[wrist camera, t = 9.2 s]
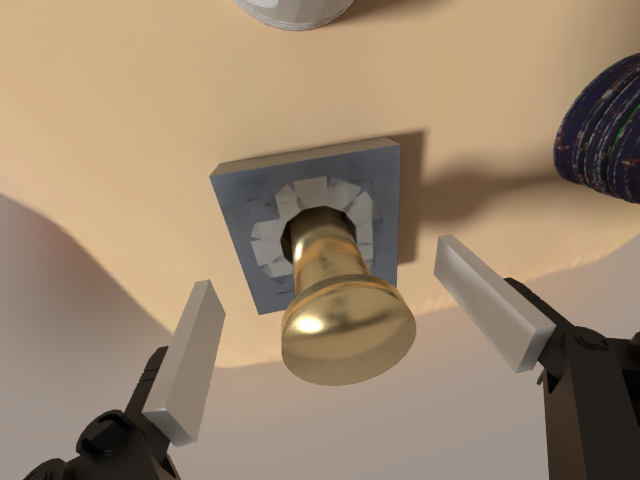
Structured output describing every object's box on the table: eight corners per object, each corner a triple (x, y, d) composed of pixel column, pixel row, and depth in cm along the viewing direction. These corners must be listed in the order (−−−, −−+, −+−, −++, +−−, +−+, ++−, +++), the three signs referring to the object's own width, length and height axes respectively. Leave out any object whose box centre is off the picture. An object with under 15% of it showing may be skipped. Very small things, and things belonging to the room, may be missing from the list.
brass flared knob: (287, 258, 23) (295, 396, 13) (272, 195, 20) (266, 310, 10) (353, 246, 23) (412, 370, 13) (348, 182, 20) (421, 279, 10)
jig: (219, 164, 18) (209, 176, 16) (384, 136, 19) (400, 144, 16) (261, 291, 24) (258, 315, 22) (384, 267, 25) (396, 287, 22)
